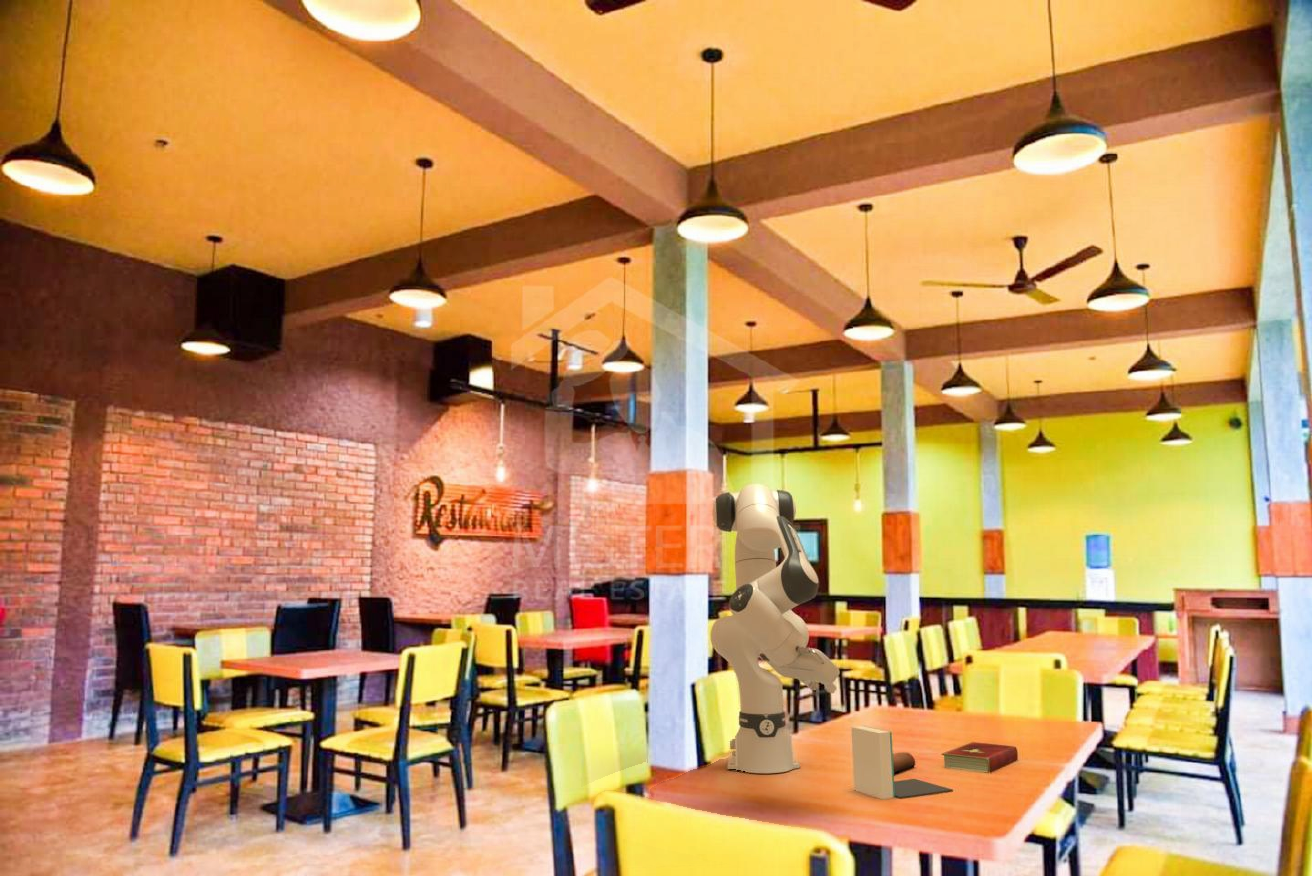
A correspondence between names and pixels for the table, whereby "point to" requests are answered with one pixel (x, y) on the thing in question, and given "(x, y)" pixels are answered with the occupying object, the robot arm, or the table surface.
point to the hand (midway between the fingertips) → (824, 689)
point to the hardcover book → (980, 757)
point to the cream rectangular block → (873, 762)
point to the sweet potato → (902, 761)
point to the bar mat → (916, 788)
